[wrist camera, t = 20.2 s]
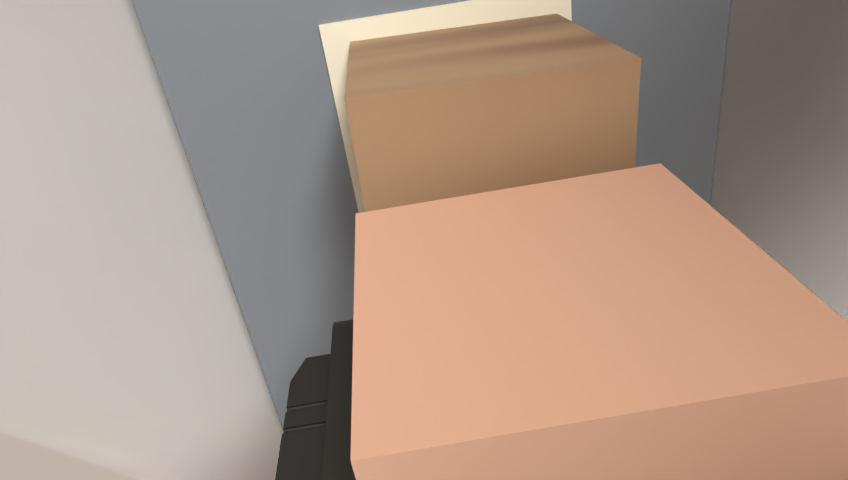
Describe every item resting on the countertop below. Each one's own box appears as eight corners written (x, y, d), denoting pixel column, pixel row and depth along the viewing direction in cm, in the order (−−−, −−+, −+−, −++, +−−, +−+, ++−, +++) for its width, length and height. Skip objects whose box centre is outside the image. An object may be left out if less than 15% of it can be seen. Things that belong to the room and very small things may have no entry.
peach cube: (355, 213, 10) (349, 461, 5) (660, 163, 10) (900, 366, 5) (403, 433, 12) (426, 727, 8) (647, 391, 12) (805, 660, 8)
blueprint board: (88, -173, 13) (67, -179, 12) (734, -273, 13) (763, -288, 12) (293, 429, 22) (290, 453, 21) (678, 364, 22) (693, 385, 21)
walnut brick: (349, 41, 14) (344, 99, 10) (557, 13, 14) (641, 57, 10) (395, 313, 18) (406, 441, 14) (558, 289, 18) (620, 408, 14)
